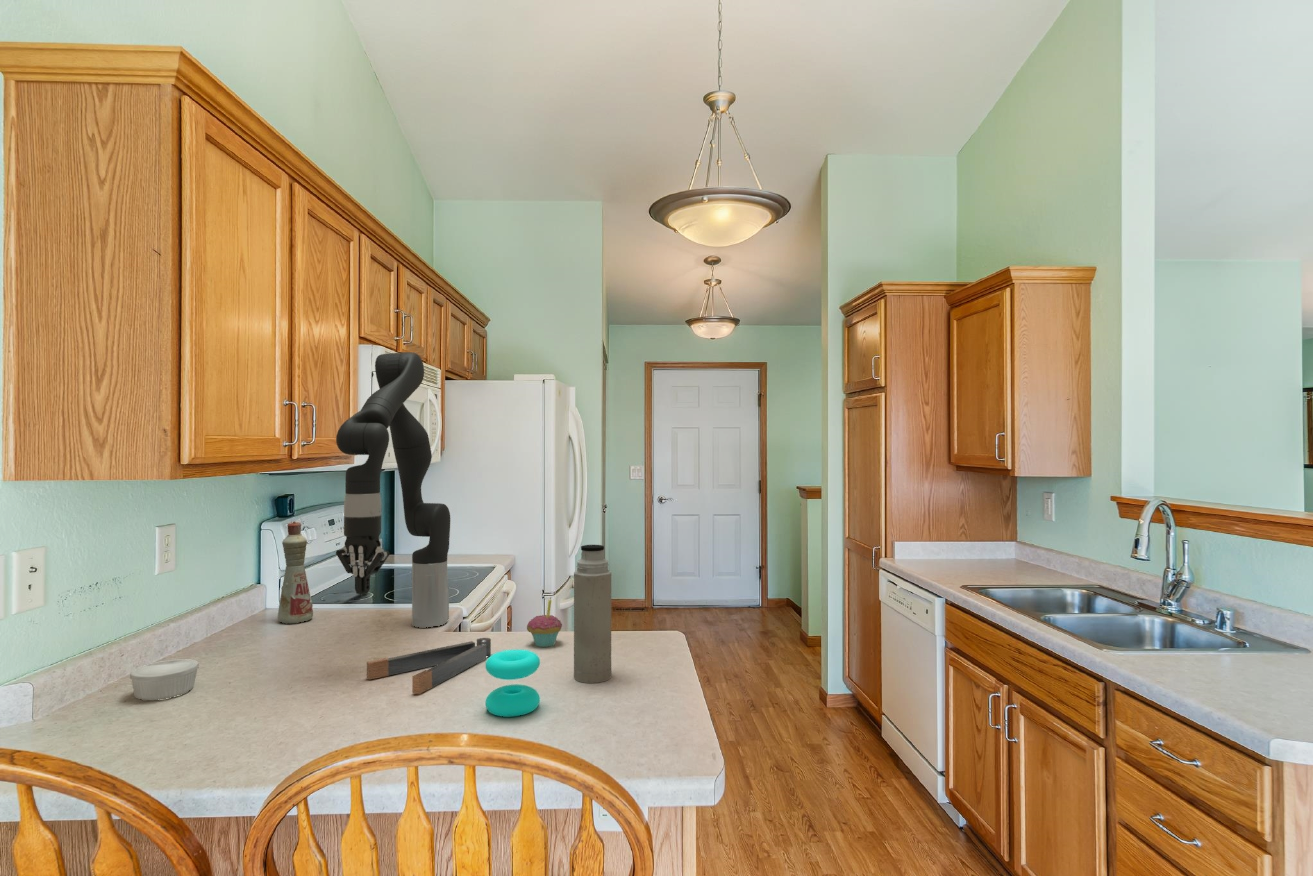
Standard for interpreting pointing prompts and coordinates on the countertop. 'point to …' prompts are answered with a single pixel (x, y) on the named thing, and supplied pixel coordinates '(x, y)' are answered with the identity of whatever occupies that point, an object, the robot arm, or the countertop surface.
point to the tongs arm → (414, 660)
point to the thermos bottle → (592, 616)
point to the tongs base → (451, 667)
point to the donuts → (512, 696)
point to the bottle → (295, 579)
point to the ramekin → (164, 679)
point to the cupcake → (544, 628)
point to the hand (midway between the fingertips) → (362, 593)
